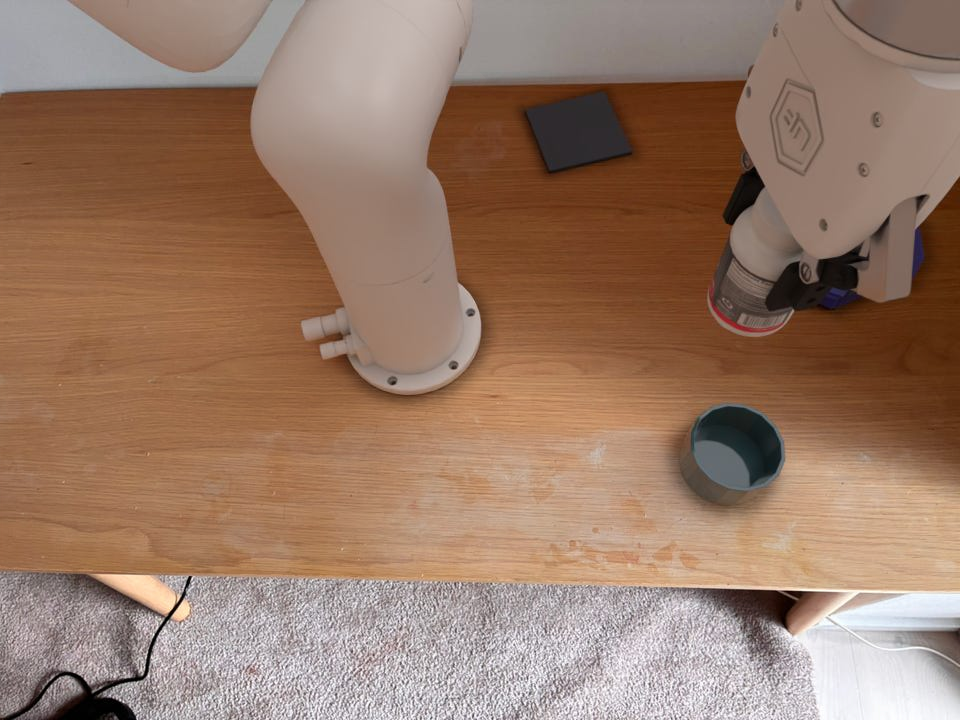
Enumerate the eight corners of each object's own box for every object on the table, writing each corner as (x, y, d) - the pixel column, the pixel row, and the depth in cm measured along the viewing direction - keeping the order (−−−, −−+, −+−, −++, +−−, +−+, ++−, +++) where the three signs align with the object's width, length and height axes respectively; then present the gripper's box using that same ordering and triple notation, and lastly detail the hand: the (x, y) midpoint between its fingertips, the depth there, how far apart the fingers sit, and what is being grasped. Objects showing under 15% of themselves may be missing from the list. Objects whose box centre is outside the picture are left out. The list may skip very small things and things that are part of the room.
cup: (698, 515, 55) (712, 501, 51) (665, 435, 58) (676, 415, 54) (780, 493, 55) (801, 476, 51) (744, 414, 58) (760, 393, 54)
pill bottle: (731, 256, 47) (776, 151, 38) (805, 296, 45) (870, 195, 36) (689, 311, 45) (725, 214, 36) (764, 354, 43) (822, 263, 34)
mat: (549, 173, 71) (549, 170, 70) (524, 112, 75) (524, 109, 74) (632, 153, 71) (632, 151, 71) (603, 93, 75) (604, 91, 75)
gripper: (748, -152, 28) (658, 162, 44) (980, 168, 20) (767, 403, 36) (921, -183, 28) (768, 139, 44) (1210, 119, 21) (899, 372, 37)
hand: (769, 256), depth 40 cm, fingers closed on pill bottle, 5 cm apart
